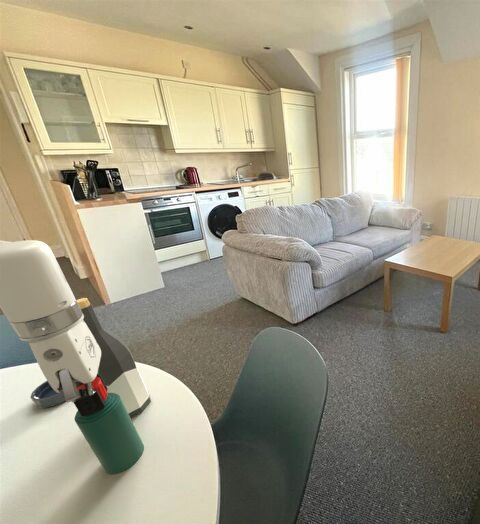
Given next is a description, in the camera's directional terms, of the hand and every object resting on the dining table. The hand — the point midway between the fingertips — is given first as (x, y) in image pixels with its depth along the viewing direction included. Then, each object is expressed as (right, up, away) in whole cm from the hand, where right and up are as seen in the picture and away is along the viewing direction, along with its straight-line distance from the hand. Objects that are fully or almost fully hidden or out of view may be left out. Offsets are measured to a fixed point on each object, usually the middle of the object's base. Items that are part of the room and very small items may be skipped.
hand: (95, 402), depth 52 cm
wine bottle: (-7, -10, +17) cm, 21 cm away
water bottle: (+1, -14, +6) cm, 15 cm away
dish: (-29, -9, +22) cm, 37 cm away
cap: (0, 0, 0) cm, 0 cm away
